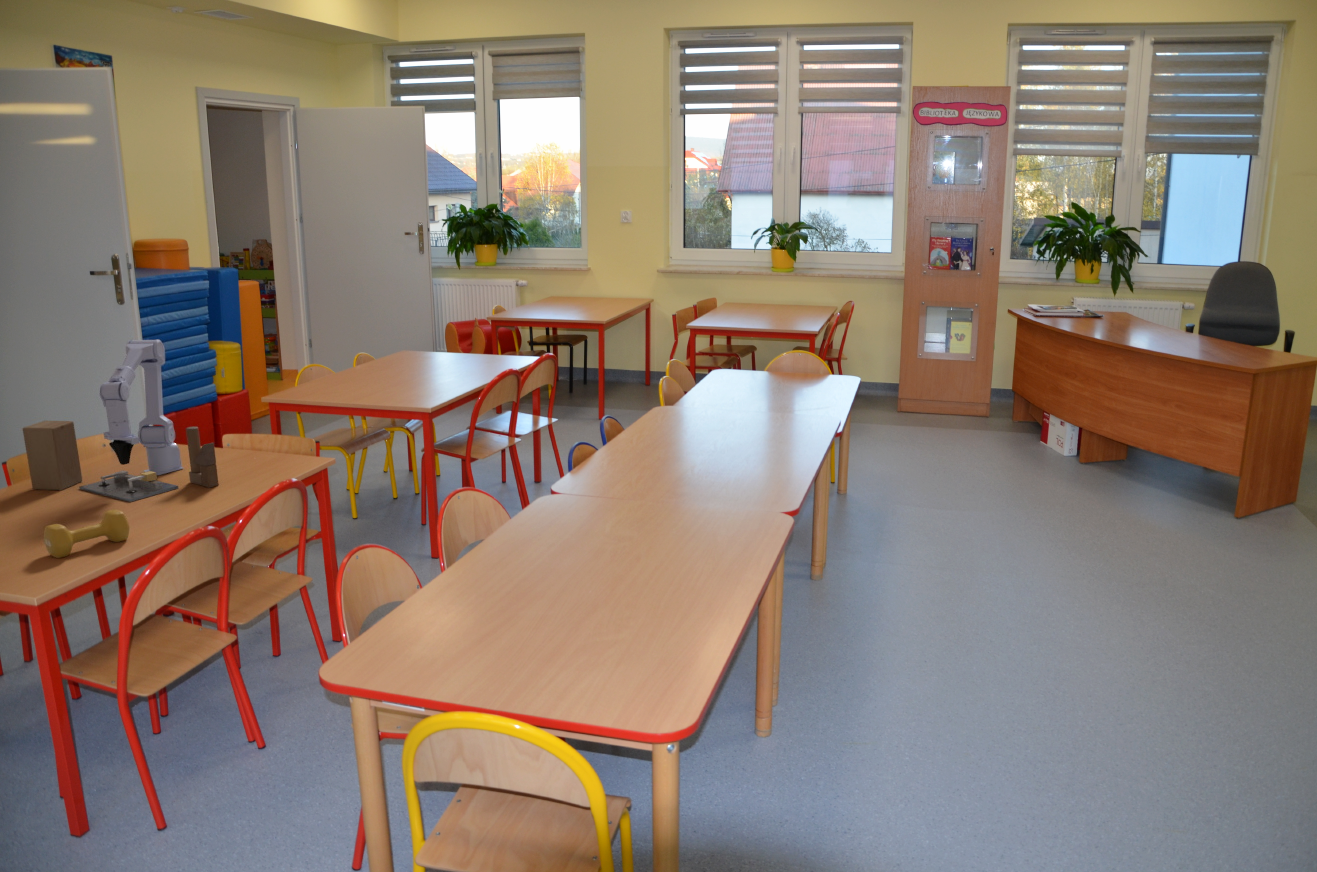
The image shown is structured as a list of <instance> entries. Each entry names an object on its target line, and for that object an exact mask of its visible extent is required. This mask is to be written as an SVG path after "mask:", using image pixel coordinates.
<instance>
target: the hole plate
mask: <svg viewBox="0 0 1317 872" xmlns="http://www.w3.org/2000/svg"><path fill="white" fill-rule="evenodd" d="M134 477H138V475H135V474H129V471H127V470H119V471H117V472H115V471H114V472H113V473H111V474H106V475H103V476H100V479H101V480H100V481H99V480H98V481H96V482H93V483H88V484H84V485H80V486H79V488H78V489H79V490H81V491H85V492H89V493H92V494H96V495H101V496H105V497H109V498H113V499H117V500H120V501H125V502H128V503H132V502H135V501H139V500H142V499H146V498H149V497H152V496H157V495H160V494H163V493H166V492H170V491H173V490H177V489H179V485H176V484H172V483H169V482H165V481H164V482H163V481H159V480H157V479H156V480H152V481H148V482H146V481H142V480H141V479H138V480H134V481H132V485H133V491H130V487H129V481H128V479H130V478H134Z"/></svg>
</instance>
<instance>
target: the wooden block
mask: <svg viewBox="0 0 1317 872" xmlns="http://www.w3.org/2000/svg"><path fill="white" fill-rule="evenodd" d="M74 423H75V422H74V421H72V420H42V421H39V422H37V423H33V424H30V425H28V426H24V427H22V435H23V440H24V445H25V446H24V447H25V451H26V457H27V463H28V469H29V475H30V481H31V482H30V483H31V487H32V490H43V491H45V490H47V491H63V490H65V489H68V488H69V487H72V486H74V485H76V484H79V483H81V482H83V475H82V468H81V462H80V456H79V447H78V443H77V442H78V441H77V436H76V435H77V434H76V429H75V424H74Z"/></svg>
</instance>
